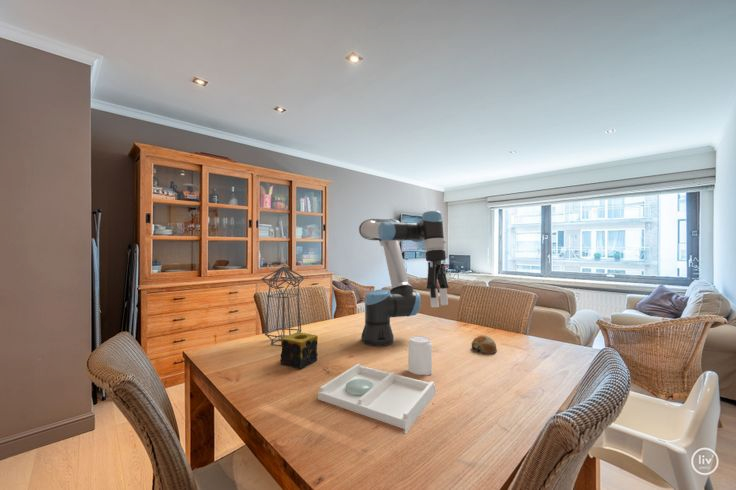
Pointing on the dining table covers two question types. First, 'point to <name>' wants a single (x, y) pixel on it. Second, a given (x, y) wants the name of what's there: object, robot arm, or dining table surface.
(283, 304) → the geometric lantern
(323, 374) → the dining table surface
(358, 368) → the divided white tray
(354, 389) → the pale green smooth oval
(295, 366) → the candle
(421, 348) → the beverage can
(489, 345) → the bread roll
